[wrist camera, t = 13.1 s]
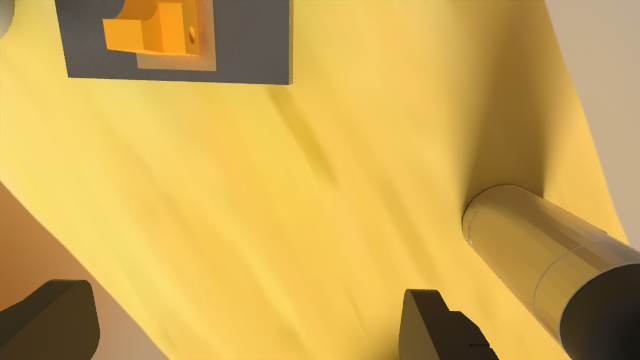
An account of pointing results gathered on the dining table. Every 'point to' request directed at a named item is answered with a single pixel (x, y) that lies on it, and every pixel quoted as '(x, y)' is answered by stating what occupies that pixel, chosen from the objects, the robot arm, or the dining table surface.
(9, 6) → the grey bottle
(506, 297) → the dining table surface
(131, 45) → the pipe clamp
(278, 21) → the steel riser
